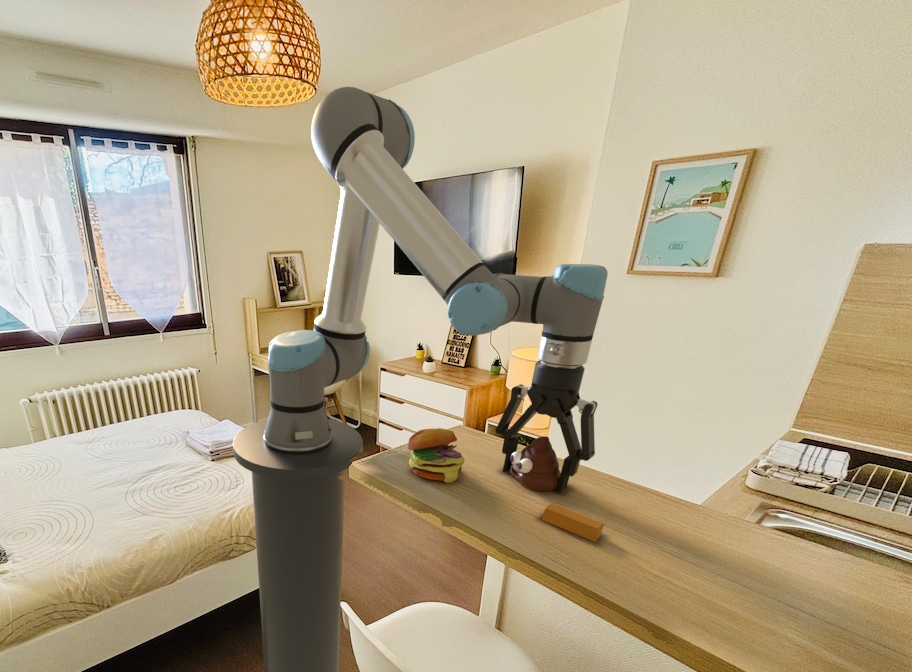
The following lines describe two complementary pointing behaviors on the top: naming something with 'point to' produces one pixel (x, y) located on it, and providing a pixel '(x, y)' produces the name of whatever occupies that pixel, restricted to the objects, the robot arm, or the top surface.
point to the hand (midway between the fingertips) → (533, 479)
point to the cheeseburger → (435, 455)
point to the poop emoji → (536, 465)
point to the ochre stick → (573, 522)
